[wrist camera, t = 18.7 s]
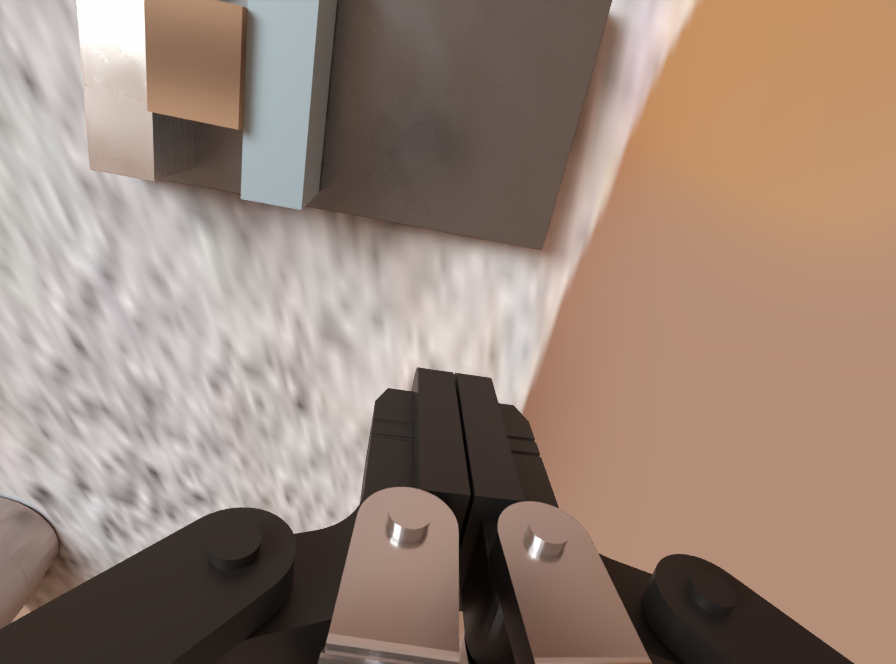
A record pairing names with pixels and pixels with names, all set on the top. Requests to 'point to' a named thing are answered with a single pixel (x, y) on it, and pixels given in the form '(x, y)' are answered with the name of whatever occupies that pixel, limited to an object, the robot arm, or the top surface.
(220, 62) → the walnut block
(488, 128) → the plate
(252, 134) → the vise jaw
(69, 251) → the top surface
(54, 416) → the top surface
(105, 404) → the top surface
